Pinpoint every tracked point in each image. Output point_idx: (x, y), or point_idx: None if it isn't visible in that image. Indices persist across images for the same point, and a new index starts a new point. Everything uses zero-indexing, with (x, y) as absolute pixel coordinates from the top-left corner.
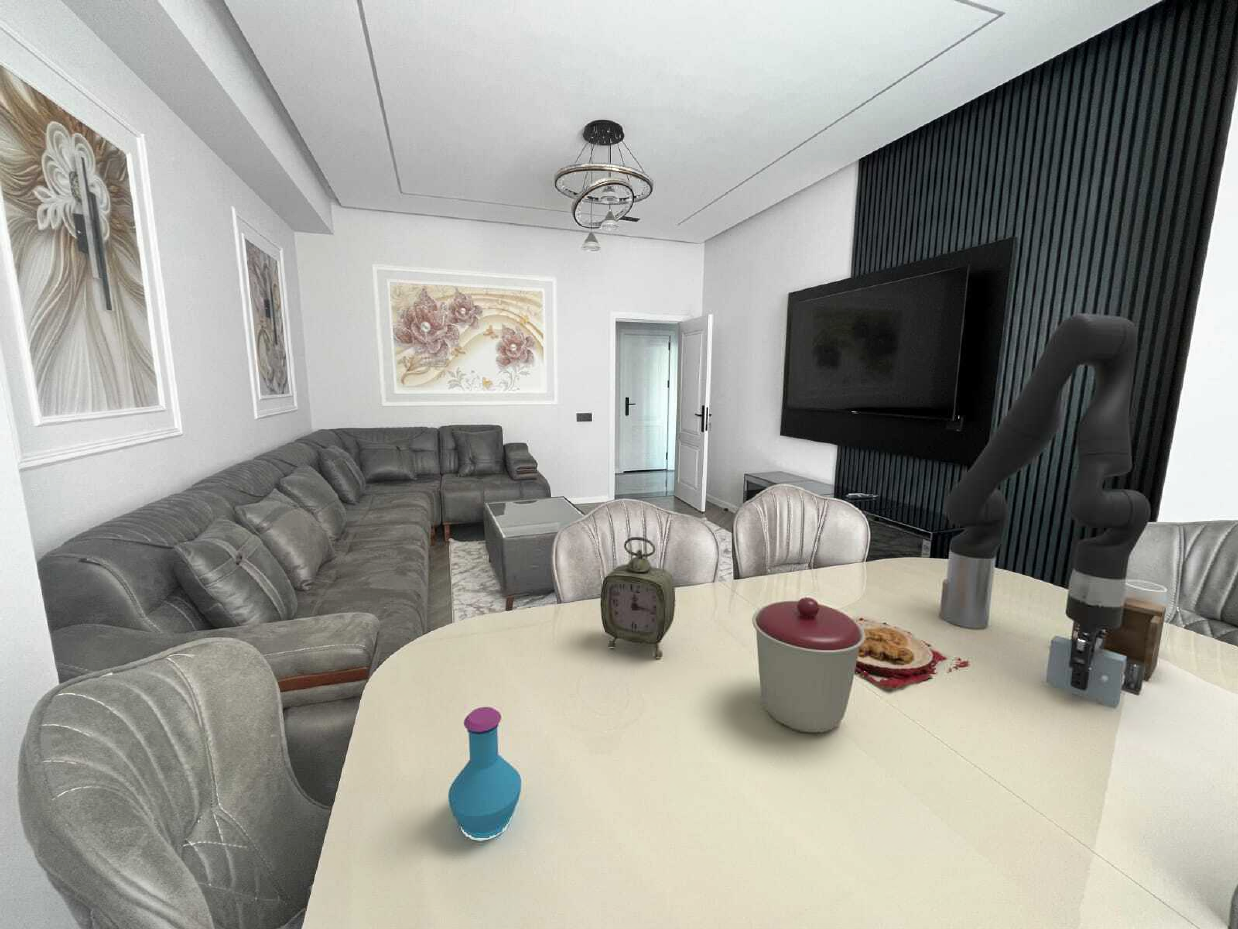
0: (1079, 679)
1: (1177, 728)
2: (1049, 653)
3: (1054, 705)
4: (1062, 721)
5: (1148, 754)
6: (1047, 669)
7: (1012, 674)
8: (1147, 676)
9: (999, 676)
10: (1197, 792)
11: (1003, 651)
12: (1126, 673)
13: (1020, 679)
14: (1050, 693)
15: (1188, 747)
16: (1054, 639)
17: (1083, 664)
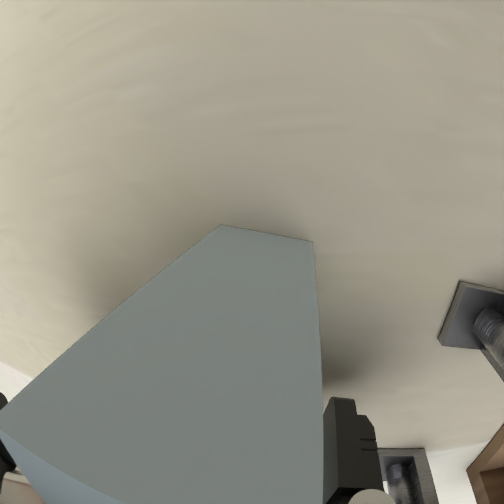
0: None
1: None
2: (118, 306)
3: (53, 266)
4: (4, 284)
5: None
6: (191, 249)
7: (202, 75)
8: (471, 480)
9: (133, 44)
10: None
11: (477, 31)
12: (419, 490)
13: (169, 117)
14: (127, 251)
15: None
16: (43, 473)
17: (2, 458)
